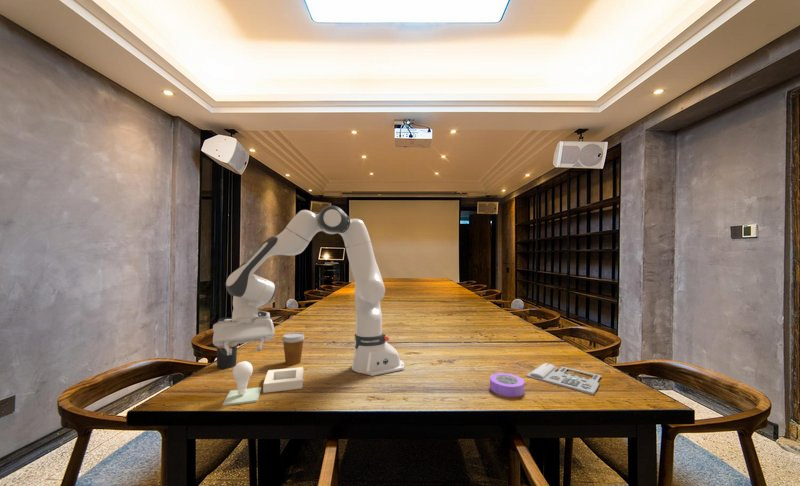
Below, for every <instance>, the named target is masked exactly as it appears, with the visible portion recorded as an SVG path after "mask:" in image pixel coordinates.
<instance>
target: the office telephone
mask: <svg viewBox="0 0 800 486" xmlns="http://www.w3.org/2000/svg"><path fill="white" fill-rule="evenodd" d="M557 369H558V367H557V366H555V365H554V364H551V363H549V362H548V363H547V362H546V363H542V364H540V365H539V366H538V367H536V368H534V369H533V370H532V371H531V370H530V372H528V373H527V374H526V377H527V378H530V377H531V379H534V380H537V381H541V382H545V383H547V384H548V383H549V384H553V385H557V386H559V387H563V388H567V389H571V390H574V391H578V392H581V393H584V394H588V395H592V396H594V395H595V394H596V392H597V390H598V389H599V386H600V383H599V382H600V380H601V379H602V378H603V376H602V375H600V374H597V373H592V372H587V371H584V370H583V371H582V370H578V369H576V368H569V367H566V366H561V368H559V370H557ZM556 370H557V371H556ZM567 370H569V371H567ZM572 371H574V372H573V373H576V372H579V373H578V374H580V373H583V374H582V375H585V374H586V375H585V376H589V375H590V377H591V378H588V377H585V376H584V377H583V376H581V375H576V374H572V373H568V372H572ZM600 378H601V379H600ZM599 379H600V380H599Z"/></svg>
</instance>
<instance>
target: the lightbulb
mask: <svg viewBox="0 0 800 486" xmlns="http://www.w3.org/2000/svg"><path fill="white" fill-rule="evenodd" d="M253 368H254V367H253V365H252V363H251V362H249V361H245V360H244V361H240V362H238V363H236V365H235V366H234V367H233V368H232V377H233V378H234V381H235V382H236V388H237V390H238V394H239V395H244V394H245V393H246V389H248V388H247V387H248V385H249V380H250V378H251V376H252V374H253V371H254V369H253Z"/></svg>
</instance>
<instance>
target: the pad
mask: <svg viewBox="0 0 800 486" xmlns="http://www.w3.org/2000/svg"><path fill="white" fill-rule="evenodd" d="M262 390H263V389H262V386H259V387H252V388H251V387H250V388H247V389H246V393H245V394H244V395H239V394H238V389H231V390H229V392H228V394H227V395H226V397H225V398H224V401H223V403H222V407H227V406H234V405H242V404H251V403H257V402H258V401H259V398H260V394H261V391H262Z"/></svg>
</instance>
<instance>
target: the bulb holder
mask: <svg viewBox="0 0 800 486" xmlns="http://www.w3.org/2000/svg"><path fill="white" fill-rule="evenodd" d="M303 385H304V367H303V366H300V367H288V368H280V369H279V368H278V369H269V370H267V372H266V375H265V379H264V381H263V389H262V393H263V394H264V393H265V394H266V393H274V392H281V391H291V390H292V391H293V390H301V389H303Z"/></svg>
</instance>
